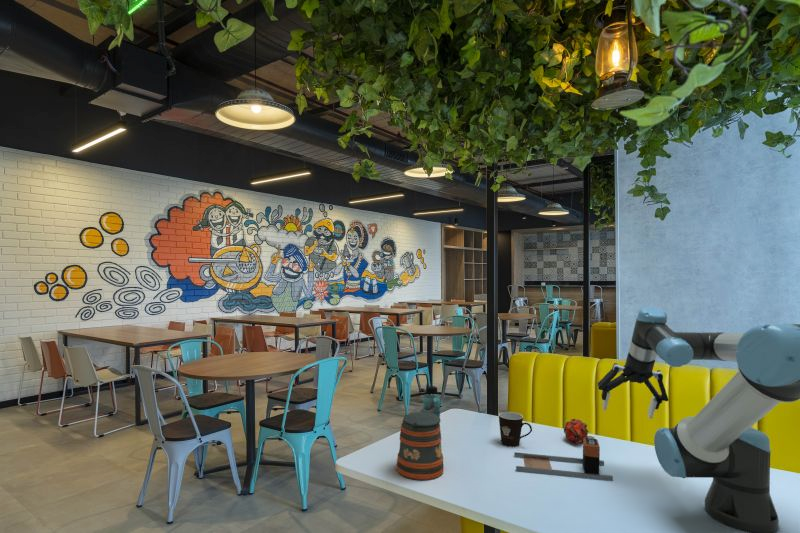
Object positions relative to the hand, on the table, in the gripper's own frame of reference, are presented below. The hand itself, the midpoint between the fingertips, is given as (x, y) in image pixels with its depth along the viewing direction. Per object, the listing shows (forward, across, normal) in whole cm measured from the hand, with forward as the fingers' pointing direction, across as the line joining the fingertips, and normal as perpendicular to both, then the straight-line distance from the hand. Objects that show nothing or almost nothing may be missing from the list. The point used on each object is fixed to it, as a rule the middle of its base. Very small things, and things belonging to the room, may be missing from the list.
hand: (626, 411), depth 146 cm
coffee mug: (+23, +33, 0) cm, 40 cm away
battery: (+15, +10, +13) cm, 22 cm away
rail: (+16, +19, +14) cm, 28 cm away
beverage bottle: (+24, +62, +7) cm, 67 cm away
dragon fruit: (+24, +11, -10) cm, 28 cm away
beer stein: (+16, +61, +27) cm, 68 cm away
